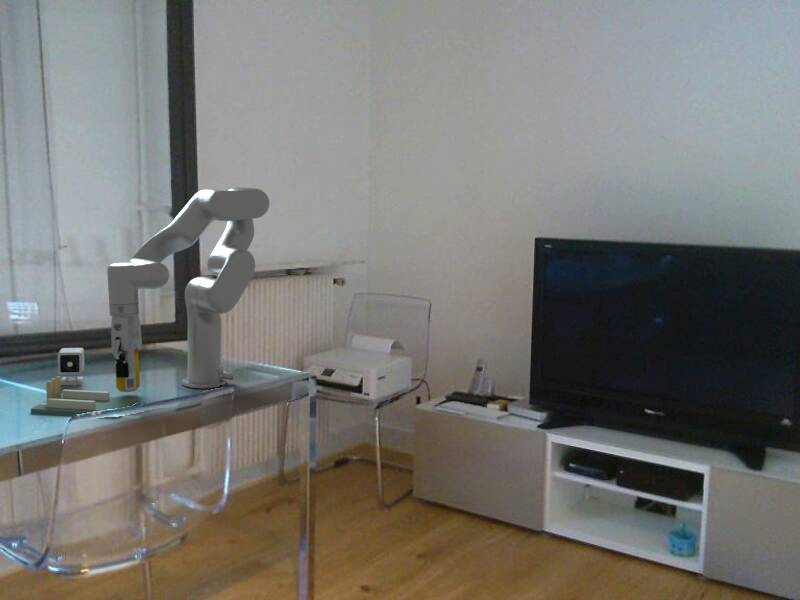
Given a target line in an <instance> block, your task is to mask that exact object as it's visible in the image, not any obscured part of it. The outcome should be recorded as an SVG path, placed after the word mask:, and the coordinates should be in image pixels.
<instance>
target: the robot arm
mask: <svg viewBox="0 0 800 600" xmlns="http://www.w3.org/2000/svg"><path fill="white" fill-rule="evenodd" d="M269 208H270V198H269V196H268V195H267V193H266V192H265V191H263V190H261V189H260V188H255V187H253V188H251V187H238V186H237V187H232V188H229V189H228V190H220V189H201V190H199V191H198V192H196V193H194V195H193V196H192V197H191V198H190V199H189V201H188V202H187V203H186V204H185V206H184V207H183V208H182V209H181V210H180V212H178V214H177V215H176V216H175V218H174V219H173V220H172V221H171V222H170V223H169V224H168V226H166V227H164V228H162V229H161V230H160V231H158V232H157V233H156V234H154V236H152V237H151V238H149V239H148V240H147V241H146V242H144V243H143V244H142V245H141V246H140V247H139V248H138V249H137V251H136V252H135V253H134V254H133V256H132V257H131V258H130V259H129V261H128V262H116V263H115V262H114V263H111V264H110V265H108V266H107V271H106V272H107V290H108V306H109V307H108V308H109V310H108V311H109V316H110V317H111V331H110V333H111V336H110V339H111V350H112V356H113V358H114V364H115V363H116V370H115V377H116V376H117V377H123V378H127V377H129V369H128V363H127V352H128V353H131V352H132V351H134V350H135V338H137V339H138V349H140V347H142V344H143V339H142V327H141V320H140V315H139V314H140V305H139V304H140V303H139V301H140V300H139V299H140V298H139V289H144V290H145V289H146V290H155V289H156V290H157V289H160V288H162V287H164V286H165V285H166V284H167V283H168V282H169V278H170V272H169V269H168V267H167V266H166V265H165V264H163V263H162V262H163V261H164V260H165V259H167V258H169V257H170V255H173V254H174V253H178V252H181V251H183V250H187V249H188V248H190V247H192V246H193V245H194V244H196V242H197V241H198V239H200V237H201V236H202V235H203V233H205V231H206V230H207V229H208V227H209V226H210V225H211V224H212V222H213V221H220V222H226V227H225V229H224V231H223V233H222V234H221V236H220V238H219V239H218V242H217V243H216V245H215V246H214V248H213V249H212V251H211V253H210V254H209V257H208V259H207V263H206V264H207V265H206V266H207V269H208V271H209V272H210V273H211V274H212V275H213V276H216V278H213V277H209V276H197V277H194V278H192V279H191V280H189V282H188V283H187V285H186V287H185V290H184V303H185V307H186V313H187V376H185V377H184V378H182V379H181V384H182V386H184V387H188V388H191V389H192V388H193V389H212V388H219V387H221V386H220V385H222V386H225V384H226V383H227V382H226V381H227V380H228V381H229V380H231V381H235V378H236V373H233V371H226V370H224V367H223V366H222V319H221V315H223V314H228V313H229V312H230V311H232V310H233V309H234V308H235V307H236V305H237V304H238V302H239V300H240V299H241V298H242V295H243V294H244V292H245V291H246V289H247V287H248V285H249V284H250V282H251V280H252V278H253V277H254V273H255V269H256V260H255V257H254V255H253V254H252V253H251V252H250V251H249V247H250V246H251V244H252V243H253V239H254V236H255V225H254V220H253V219H259V218H262V217H264V216H265V215H266V213H267V212H268V210H269ZM120 349H124V351H120ZM120 354H124V358H123V356H122V355H120Z"/></svg>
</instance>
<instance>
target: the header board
mask: <svg viewBox="0 0 800 600" xmlns="http://www.w3.org/2000/svg"><path fill="white" fill-rule="evenodd" d="M61 380H62V376H61V375H57V376H55V378H51V379H50V380H46V381H45V383H46V385H45V386H46V389H45V390H46V393H45V394H46V399H45V400H44V401H42V402H40V403H38V404H37V405H35V406H34V407H32V408H30V414H31V415H38V414H39V415H48V416H49V415H52V416H53V415H54V416H69V417H74V416H73V415H76V414H82V413H87V412H93V411H101V410H107V409H115V408H122V407H127V406H132V405H133V404H135V403H137V402H140V401H139V398H137V397H135V398H133V397H118V396H117V397H116V396H110V391H104V390H103V391H101V390H99V391H98V390H85V389H84V390H83V389H81V390H80V389H63V390H61V389H62V386H61Z"/></svg>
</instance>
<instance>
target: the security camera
mask: <svg viewBox="0 0 800 600" xmlns="http://www.w3.org/2000/svg"><path fill="white" fill-rule="evenodd" d="M84 368H85V349H84V348H83V347H63V348H61V349H60V350H59V352H58V353H57V373H58V374H59V376H63V375H65V376H63V377H61V385H68V386H67V387H71V386H72V385H73V386H74V385H75V386H76V387H77V385H79V386H82V385H83V382H84V377H83V376H78V375H81V374H82V373H83V371H84ZM69 375H74V376H73V377H72V376H69ZM69 385H71V386H69ZM73 386H72V387H73ZM79 386H78V387H79Z"/></svg>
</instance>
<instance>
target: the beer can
mask: <svg viewBox="0 0 800 600" xmlns="http://www.w3.org/2000/svg"><path fill="white" fill-rule="evenodd" d="M120 351H124V349H120ZM120 355H122V356H123V358H124V354H120ZM139 361H140V360H139V348H138V339H137V338H135V350H134V351H132V352H131V353H128V352H127V363H128V369H129V377H127V378H123V377H117V376H116V375H115V385H116V386H115V387H116V389H117V390H118V392H120V393H133V392H136V391H138V389H139V387H140V386H141V383H140V381H141V379H140V364H139V363H140V362H139ZM114 366H115V367H114V369H115V371H116V363H115V362H114Z"/></svg>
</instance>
